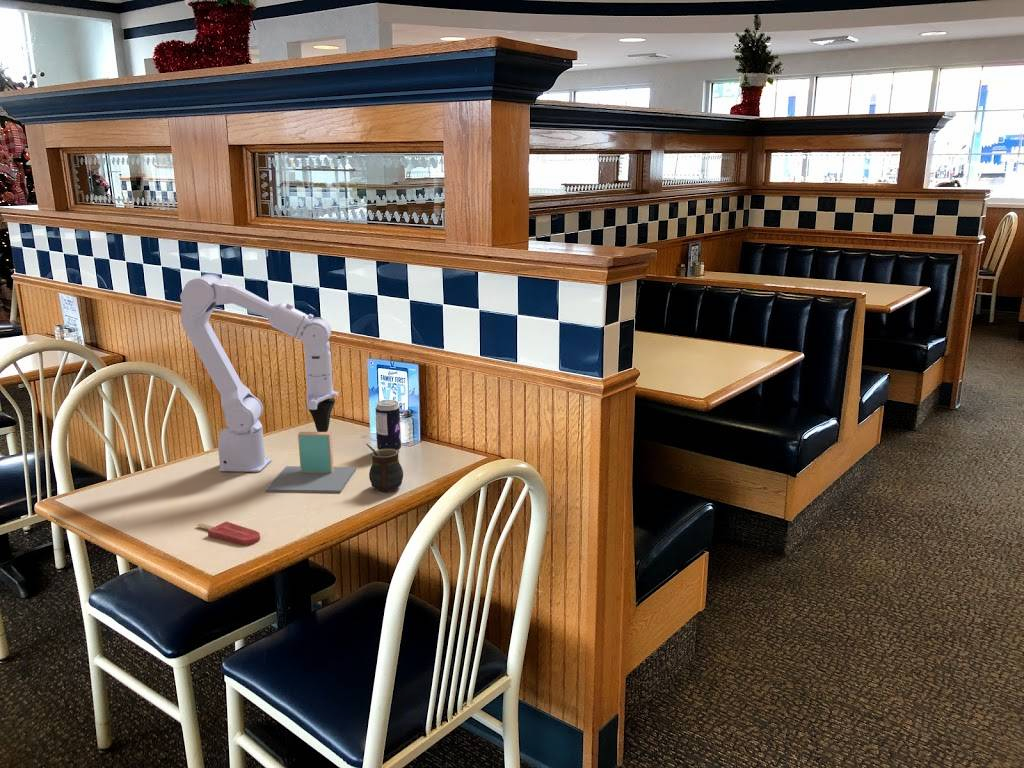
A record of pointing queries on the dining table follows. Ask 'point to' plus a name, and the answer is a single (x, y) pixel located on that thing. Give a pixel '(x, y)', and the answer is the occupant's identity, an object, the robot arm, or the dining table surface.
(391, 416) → the beverage can
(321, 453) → the tile
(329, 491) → the slate pad
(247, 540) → the popsicle
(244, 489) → the dining table surface
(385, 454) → the mate gourd
